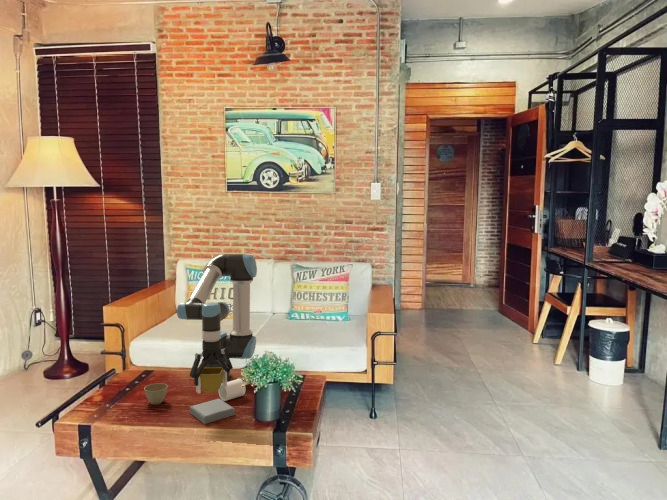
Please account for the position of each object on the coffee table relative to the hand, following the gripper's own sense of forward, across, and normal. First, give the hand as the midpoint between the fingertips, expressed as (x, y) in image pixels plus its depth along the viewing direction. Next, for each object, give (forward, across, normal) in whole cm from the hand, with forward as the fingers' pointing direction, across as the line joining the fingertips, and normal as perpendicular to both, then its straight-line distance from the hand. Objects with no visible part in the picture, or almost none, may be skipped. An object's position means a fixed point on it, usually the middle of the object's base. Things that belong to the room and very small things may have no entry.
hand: (211, 389), depth 206 cm
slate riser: (+11, 0, 0) cm, 11 cm away
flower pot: (+1, 0, 0) cm, 1 cm away
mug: (+11, -15, -12) cm, 22 cm away
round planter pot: (+11, +14, -27) cm, 32 cm away
